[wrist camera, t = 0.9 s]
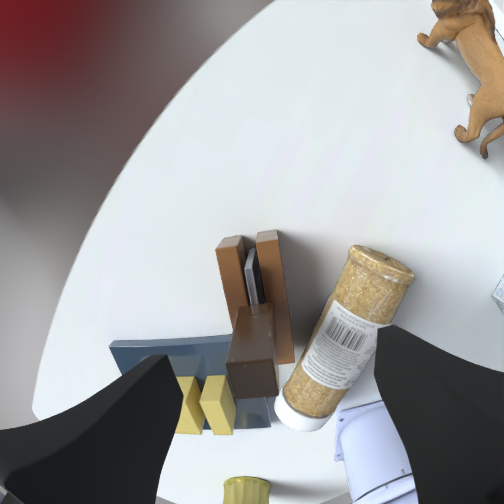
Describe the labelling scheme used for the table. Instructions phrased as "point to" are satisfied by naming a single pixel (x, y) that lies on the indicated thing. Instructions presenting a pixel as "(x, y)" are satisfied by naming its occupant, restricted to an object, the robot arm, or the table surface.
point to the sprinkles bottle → (343, 338)
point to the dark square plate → (194, 369)
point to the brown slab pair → (272, 279)
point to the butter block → (190, 407)
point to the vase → (246, 491)
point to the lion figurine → (473, 60)
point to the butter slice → (218, 405)
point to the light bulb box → (499, 294)
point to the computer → (498, 15)
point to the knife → (254, 342)
